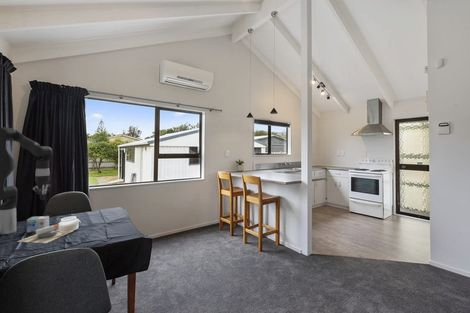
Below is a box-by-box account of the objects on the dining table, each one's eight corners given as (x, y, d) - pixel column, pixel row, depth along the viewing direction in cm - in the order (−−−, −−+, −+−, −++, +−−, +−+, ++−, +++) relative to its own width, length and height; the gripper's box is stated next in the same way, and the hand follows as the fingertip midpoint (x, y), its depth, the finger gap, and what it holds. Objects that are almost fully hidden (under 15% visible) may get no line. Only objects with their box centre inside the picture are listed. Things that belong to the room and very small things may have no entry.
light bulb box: (26, 234, 158) (26, 219, 157) (32, 231, 164) (32, 216, 164) (44, 233, 160) (44, 218, 160) (49, 230, 167) (49, 215, 167)
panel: (16, 243, 142) (16, 241, 142) (48, 231, 164) (48, 229, 164) (46, 245, 140) (46, 242, 140) (74, 232, 162) (74, 230, 162)
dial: (41, 239, 144) (40, 231, 144) (32, 237, 148) (32, 228, 148) (61, 233, 156) (61, 225, 155) (53, 231, 160) (53, 223, 160)
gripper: (46, 173, 162) (46, 197, 163) (28, 175, 149) (28, 201, 150) (56, 174, 162) (56, 197, 162) (38, 176, 148) (38, 202, 149)
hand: (42, 199), depth 156 cm, fingers closed
